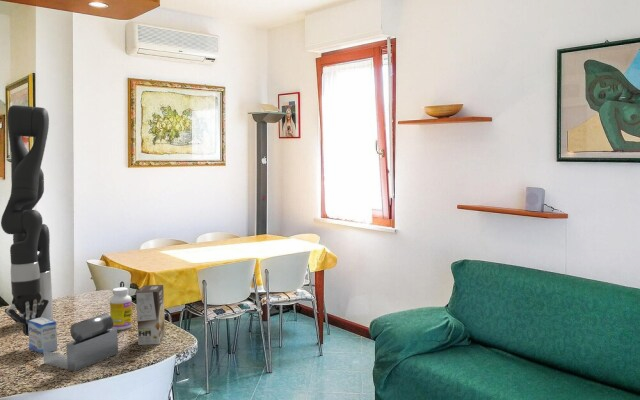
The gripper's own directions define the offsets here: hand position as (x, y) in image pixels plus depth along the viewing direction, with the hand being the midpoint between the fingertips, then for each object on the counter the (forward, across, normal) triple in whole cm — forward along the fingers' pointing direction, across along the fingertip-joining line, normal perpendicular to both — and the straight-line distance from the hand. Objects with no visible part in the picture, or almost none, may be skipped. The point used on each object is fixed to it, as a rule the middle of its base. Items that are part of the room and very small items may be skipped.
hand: (29, 335), depth 165 cm
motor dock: (+4, 0, +23) cm, 23 cm away
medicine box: (+4, 0, +6) cm, 7 cm away
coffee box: (+4, -20, +29) cm, 35 cm away
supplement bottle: (+4, -25, +11) cm, 28 cm away
